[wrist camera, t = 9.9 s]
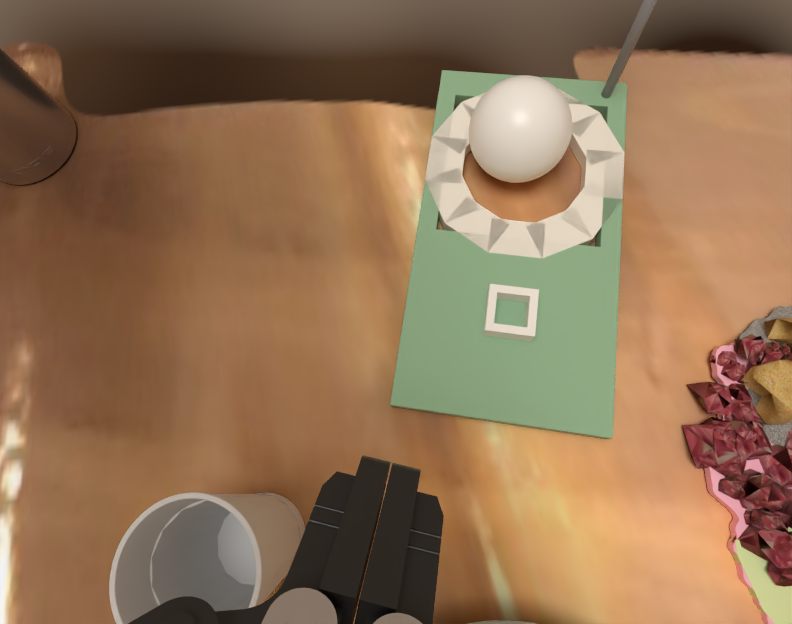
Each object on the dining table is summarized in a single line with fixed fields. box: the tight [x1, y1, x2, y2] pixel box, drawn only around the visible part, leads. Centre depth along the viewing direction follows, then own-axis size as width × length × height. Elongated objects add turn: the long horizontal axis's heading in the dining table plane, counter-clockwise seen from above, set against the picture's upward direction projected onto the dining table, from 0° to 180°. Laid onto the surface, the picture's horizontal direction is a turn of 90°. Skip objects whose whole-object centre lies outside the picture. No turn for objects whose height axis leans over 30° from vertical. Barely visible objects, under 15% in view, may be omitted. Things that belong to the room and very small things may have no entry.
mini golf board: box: [390, 0, 657, 439], centre depth 34 cm, size 30×16×16 cm, turn 171°
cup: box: [109, 492, 305, 624], centre depth 31 cm, size 8×8×12 cm
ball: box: [469, 75, 572, 183], centre depth 40 cm, size 8×8×8 cm
